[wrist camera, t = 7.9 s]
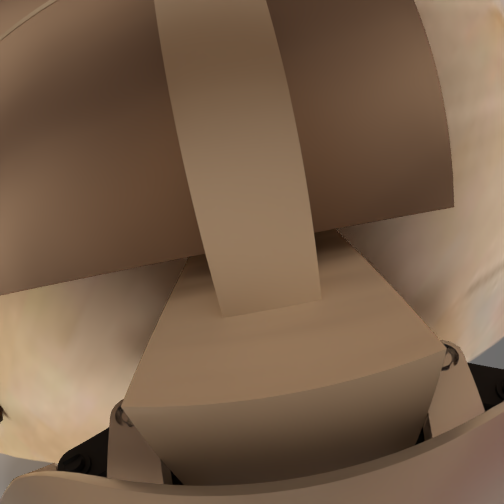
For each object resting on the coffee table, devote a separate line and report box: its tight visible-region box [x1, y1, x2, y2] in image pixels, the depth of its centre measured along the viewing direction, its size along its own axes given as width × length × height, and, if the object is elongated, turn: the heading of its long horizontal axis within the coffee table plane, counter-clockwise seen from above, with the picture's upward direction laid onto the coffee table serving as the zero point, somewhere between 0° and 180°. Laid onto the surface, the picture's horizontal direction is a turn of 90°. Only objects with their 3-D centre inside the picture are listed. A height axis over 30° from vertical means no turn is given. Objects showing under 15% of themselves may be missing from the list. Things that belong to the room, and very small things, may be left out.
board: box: [0, 0, 454, 295], centre depth 7 cm, size 12×26×2 cm, turn 101°
